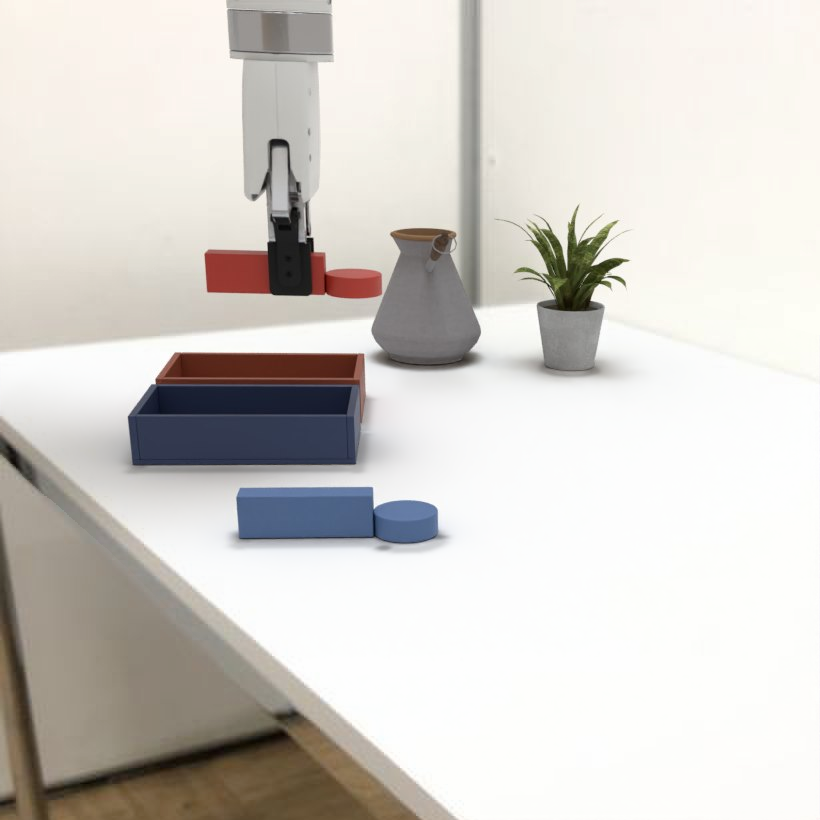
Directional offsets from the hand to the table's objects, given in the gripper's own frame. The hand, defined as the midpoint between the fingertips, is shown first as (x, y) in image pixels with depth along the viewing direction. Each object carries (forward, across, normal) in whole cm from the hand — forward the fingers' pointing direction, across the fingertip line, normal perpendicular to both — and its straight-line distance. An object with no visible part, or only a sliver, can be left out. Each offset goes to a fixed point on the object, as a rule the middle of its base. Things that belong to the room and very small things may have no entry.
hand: (293, 290), depth 107 cm
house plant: (+13, -30, +24) cm, 40 cm away
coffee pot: (+13, -29, +11) cm, 33 cm away
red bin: (+13, -12, -4) cm, 18 cm away
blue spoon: (+13, +20, +4) cm, 25 cm away
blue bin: (+13, 0, -4) cm, 13 cm away
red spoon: (0, 0, 0) cm, 0 cm away
